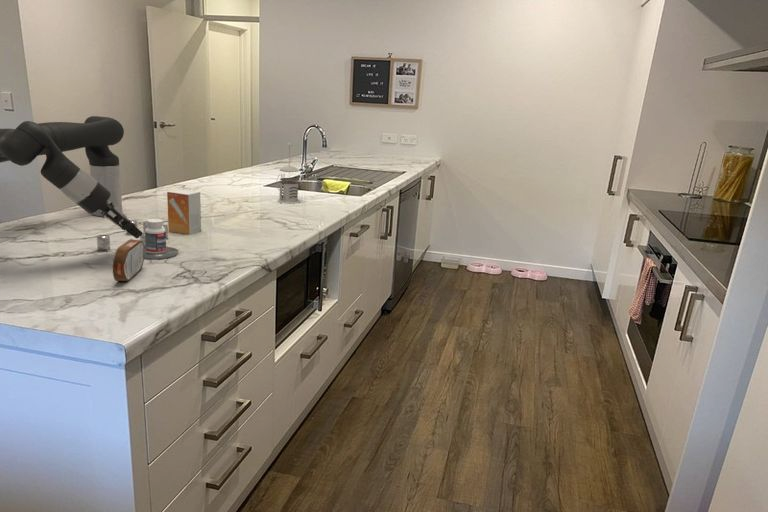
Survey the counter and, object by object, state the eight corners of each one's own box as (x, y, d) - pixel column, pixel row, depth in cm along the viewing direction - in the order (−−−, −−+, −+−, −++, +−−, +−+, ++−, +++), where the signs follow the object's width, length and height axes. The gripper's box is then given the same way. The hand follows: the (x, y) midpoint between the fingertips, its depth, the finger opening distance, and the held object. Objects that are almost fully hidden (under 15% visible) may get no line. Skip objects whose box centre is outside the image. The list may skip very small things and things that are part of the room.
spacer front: (154, 239, 168) (154, 226, 167) (159, 236, 171) (159, 224, 170) (164, 240, 168) (164, 227, 167) (169, 237, 171) (169, 225, 170)
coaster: (127, 257, 149) (127, 255, 149) (148, 246, 160) (148, 244, 160) (166, 261, 148) (166, 259, 148) (185, 250, 159) (185, 248, 159)
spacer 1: (124, 234, 171) (123, 221, 170) (130, 232, 174) (129, 219, 173) (134, 235, 171) (133, 222, 169) (139, 233, 174) (139, 220, 173)
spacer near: (95, 251, 153) (94, 237, 152) (102, 248, 156) (101, 234, 155) (106, 252, 153) (105, 238, 152) (112, 249, 156) (111, 235, 155)
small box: (168, 231, 178) (166, 191, 174) (180, 227, 183) (179, 188, 180) (189, 235, 175) (188, 194, 172) (201, 230, 181) (200, 191, 178)
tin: (134, 266, 143) (132, 234, 140) (147, 267, 143) (145, 235, 141) (112, 286, 128) (109, 251, 126) (126, 286, 129) (124, 251, 126)
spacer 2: (138, 248, 158) (137, 234, 157) (144, 245, 161) (143, 232, 160) (149, 249, 158) (148, 235, 157) (154, 246, 161) (154, 233, 160)
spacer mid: (141, 236, 171) (140, 223, 169) (146, 233, 174) (146, 221, 173) (151, 236, 170) (150, 224, 169) (156, 234, 173) (156, 222, 172)
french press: (305, 202, 239) (306, 143, 232) (286, 205, 229) (287, 144, 222) (287, 198, 244) (288, 140, 237) (269, 201, 234) (269, 141, 227)
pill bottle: (159, 255, 151) (157, 223, 148) (141, 252, 152) (140, 221, 149) (170, 250, 156) (169, 219, 153) (153, 248, 157) (152, 217, 154)
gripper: (70, 196, 144) (121, 236, 154) (77, 207, 133) (131, 249, 143) (91, 176, 146) (140, 216, 155) (100, 184, 135) (152, 227, 144)
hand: (136, 232), depth 149 cm, fingers open, 8 cm apart
